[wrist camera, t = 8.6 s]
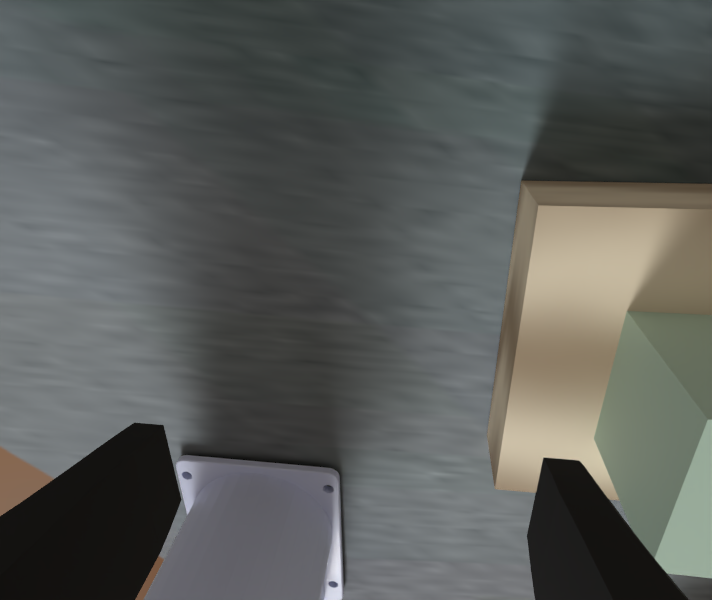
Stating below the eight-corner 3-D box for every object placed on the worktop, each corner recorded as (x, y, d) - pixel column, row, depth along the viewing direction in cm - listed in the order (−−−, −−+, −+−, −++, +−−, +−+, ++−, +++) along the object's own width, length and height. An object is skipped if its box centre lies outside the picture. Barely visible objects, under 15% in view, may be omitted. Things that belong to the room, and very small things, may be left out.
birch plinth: (764, 456, 20) (814, 518, 18) (487, 434, 22) (495, 489, 19) (890, 187, 15) (986, 216, 13) (521, 180, 17) (538, 205, 14)
